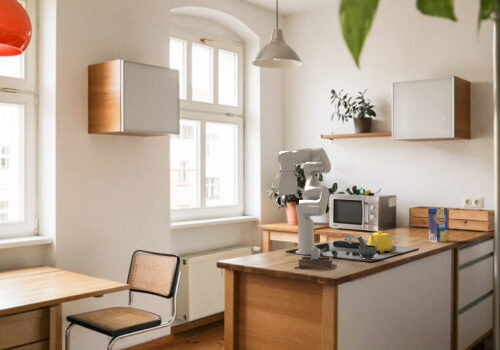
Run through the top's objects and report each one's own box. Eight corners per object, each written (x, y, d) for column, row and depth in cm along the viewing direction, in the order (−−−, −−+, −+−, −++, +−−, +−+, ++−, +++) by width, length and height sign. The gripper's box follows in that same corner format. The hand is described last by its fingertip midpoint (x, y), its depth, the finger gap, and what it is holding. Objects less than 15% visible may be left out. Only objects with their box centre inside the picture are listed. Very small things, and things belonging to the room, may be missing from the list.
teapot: (360, 253, 304) (360, 231, 304) (377, 248, 318) (377, 228, 318) (381, 255, 295) (380, 233, 295) (397, 250, 309) (397, 230, 309)
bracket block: (312, 264, 267) (312, 246, 267) (320, 264, 266) (319, 246, 266) (311, 266, 261) (310, 247, 261) (319, 266, 260) (318, 248, 260)
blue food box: (447, 240, 348) (447, 208, 348) (437, 242, 342) (436, 208, 342) (438, 239, 354) (438, 207, 354) (428, 241, 348) (428, 208, 348)
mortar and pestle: (380, 258, 283) (379, 236, 283) (370, 261, 276) (370, 238, 276) (363, 256, 291) (362, 235, 291) (353, 258, 285) (352, 237, 285)
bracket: (346, 239, 347) (352, 227, 344) (372, 256, 335) (378, 243, 332) (343, 240, 345) (349, 227, 342) (370, 257, 332) (376, 244, 329)
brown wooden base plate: (297, 264, 271) (297, 256, 271) (336, 264, 267) (336, 257, 267) (294, 268, 260) (294, 260, 260) (334, 269, 255) (334, 260, 255)
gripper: (304, 173, 284) (305, 204, 284) (273, 174, 288) (274, 204, 288) (302, 173, 277) (303, 205, 277) (271, 174, 281) (271, 205, 281)
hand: (288, 205), depth 282 cm, fingers open, 9 cm apart
